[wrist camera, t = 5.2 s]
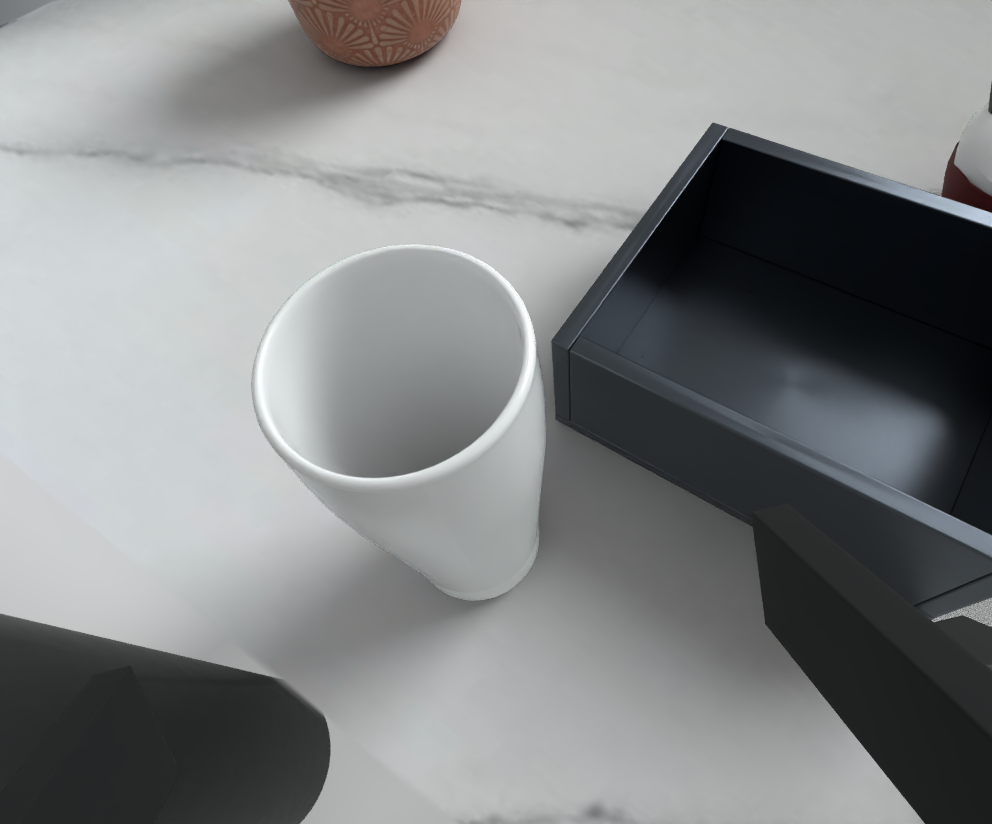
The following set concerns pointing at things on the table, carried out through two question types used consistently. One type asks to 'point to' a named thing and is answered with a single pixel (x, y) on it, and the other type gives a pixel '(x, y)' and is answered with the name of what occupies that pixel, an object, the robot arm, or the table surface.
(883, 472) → the dark storage bin
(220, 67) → the table surface
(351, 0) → the planter
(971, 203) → the cocoa
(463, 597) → the white cup
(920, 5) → the table surface
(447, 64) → the table surface
